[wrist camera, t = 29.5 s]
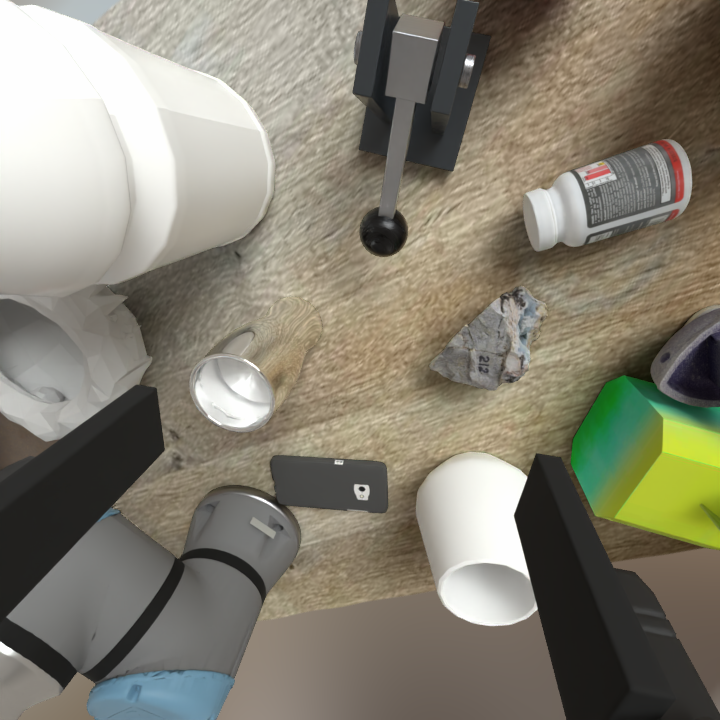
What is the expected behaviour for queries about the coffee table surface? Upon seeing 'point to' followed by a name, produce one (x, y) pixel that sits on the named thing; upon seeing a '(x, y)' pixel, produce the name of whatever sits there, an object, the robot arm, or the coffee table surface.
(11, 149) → the bottle
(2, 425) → the plant saucer
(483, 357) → the mineral specimen
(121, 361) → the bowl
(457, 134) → the bracket
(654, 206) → the pill bottle
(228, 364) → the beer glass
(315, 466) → the cell phone
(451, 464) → the white vase
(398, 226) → the lever
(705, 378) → the toy boat
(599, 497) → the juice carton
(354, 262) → the coffee table surface
